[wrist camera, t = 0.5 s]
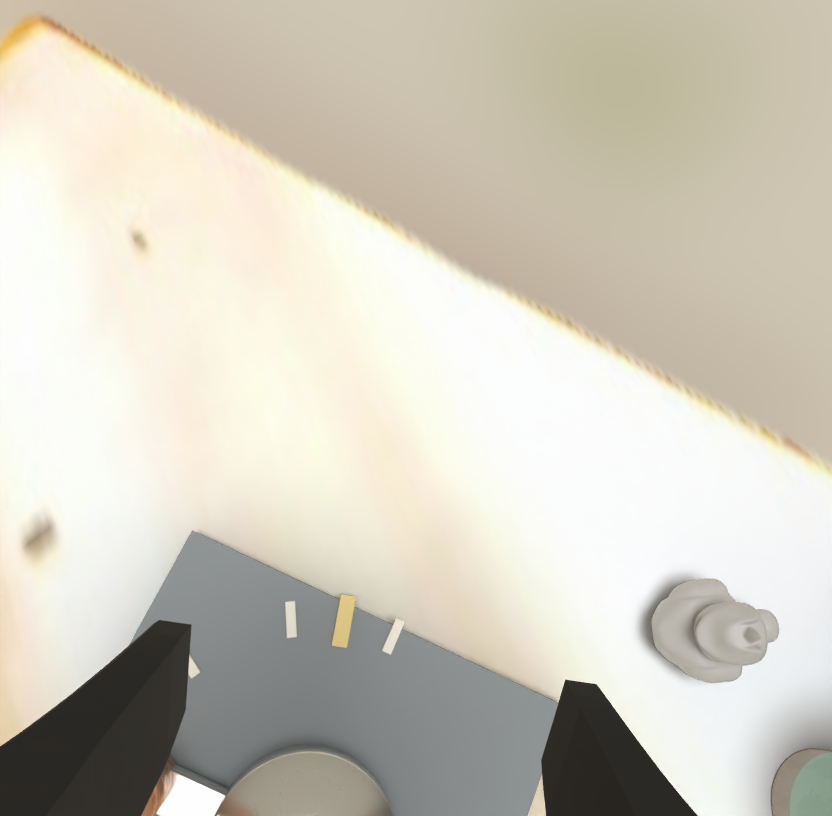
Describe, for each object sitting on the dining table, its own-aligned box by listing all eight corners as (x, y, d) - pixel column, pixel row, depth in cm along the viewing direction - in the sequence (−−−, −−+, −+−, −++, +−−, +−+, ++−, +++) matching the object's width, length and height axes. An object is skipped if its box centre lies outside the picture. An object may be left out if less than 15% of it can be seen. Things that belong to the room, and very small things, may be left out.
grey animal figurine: (630, 584, 40) (705, 582, 32) (732, 575, 41) (828, 571, 33) (644, 682, 39) (727, 704, 31) (750, 670, 40) (854, 689, 32)
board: (417, 1104, 32) (423, 1129, 30) (-11, 909, 31) (-27, 925, 30) (560, 693, 38) (570, 698, 36) (200, 523, 37) (195, 521, 36)
